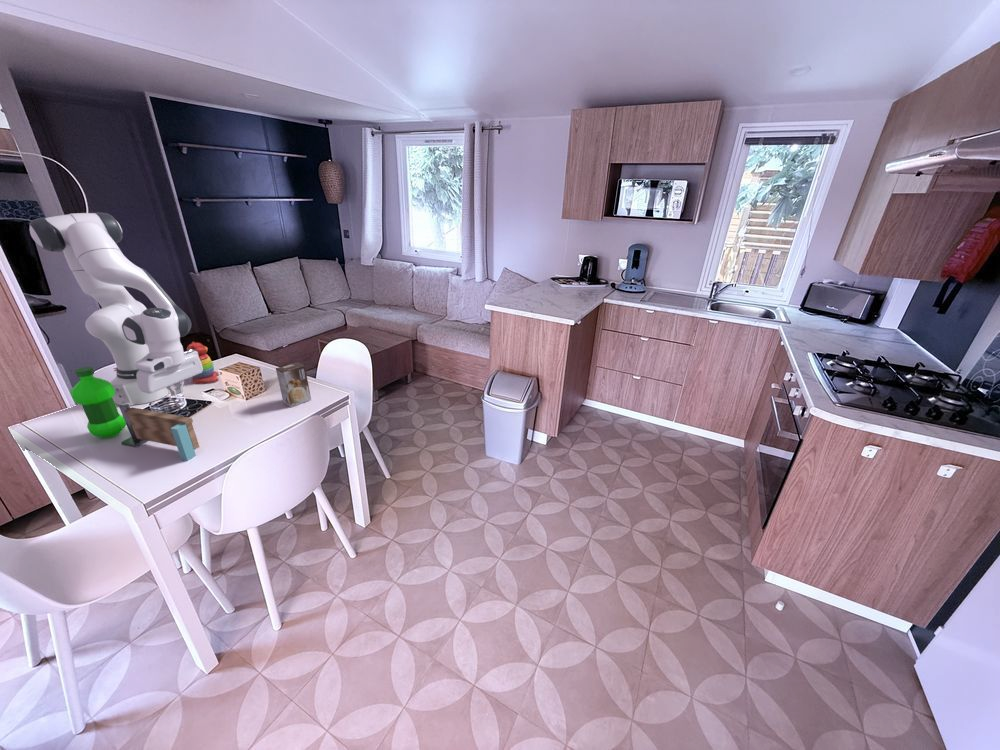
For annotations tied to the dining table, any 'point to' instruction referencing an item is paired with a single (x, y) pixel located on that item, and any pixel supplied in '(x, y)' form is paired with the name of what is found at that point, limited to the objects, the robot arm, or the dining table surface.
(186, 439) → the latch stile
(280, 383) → the coffee box
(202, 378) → the stacking bear
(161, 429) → the gate
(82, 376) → the plastic bottle
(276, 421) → the dining table surface
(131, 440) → the hinge post
